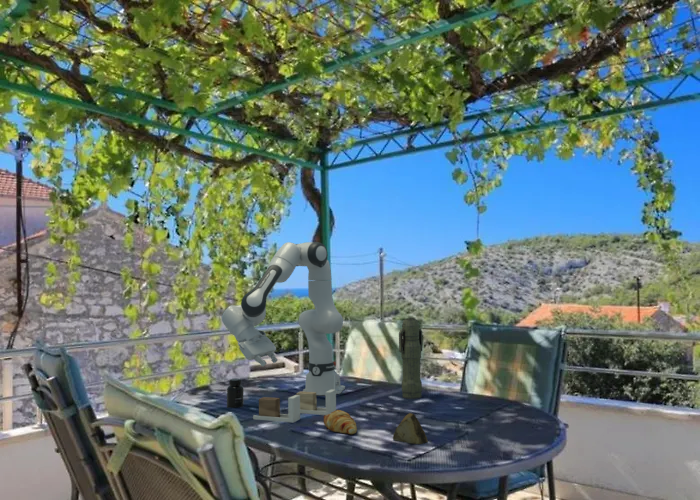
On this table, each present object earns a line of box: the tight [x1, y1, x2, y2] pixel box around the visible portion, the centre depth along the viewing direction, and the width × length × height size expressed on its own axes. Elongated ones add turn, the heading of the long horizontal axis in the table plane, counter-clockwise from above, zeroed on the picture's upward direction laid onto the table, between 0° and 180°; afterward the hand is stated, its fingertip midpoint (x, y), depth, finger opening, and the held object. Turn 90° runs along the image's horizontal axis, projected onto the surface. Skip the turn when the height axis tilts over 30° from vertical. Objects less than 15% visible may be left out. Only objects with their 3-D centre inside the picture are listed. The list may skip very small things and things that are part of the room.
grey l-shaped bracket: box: [252, 394, 301, 423], centre depth 219 cm, size 6×17×10 cm, turn 69°
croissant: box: [323, 409, 358, 435], centre depth 207 cm, size 21×10×8 cm, turn 33°
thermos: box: [398, 318, 424, 400], centre depth 260 cm, size 9×12×35 cm
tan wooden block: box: [295, 390, 318, 411], centre depth 230 cm, size 4×7×8 cm, turn 69°
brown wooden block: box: [258, 396, 281, 417], centre depth 220 cm, size 4×7×8 cm, turn 69°
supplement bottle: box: [226, 378, 244, 409], centre depth 243 cm, size 7×7×12 cm
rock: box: [392, 412, 429, 445], centre depth 191 cm, size 11×9×10 cm
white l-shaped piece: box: [300, 389, 337, 416], centre depth 229 cm, size 6×17×10 cm, turn 69°
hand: (270, 363), depth 236 cm, fingers open, 8 cm apart
